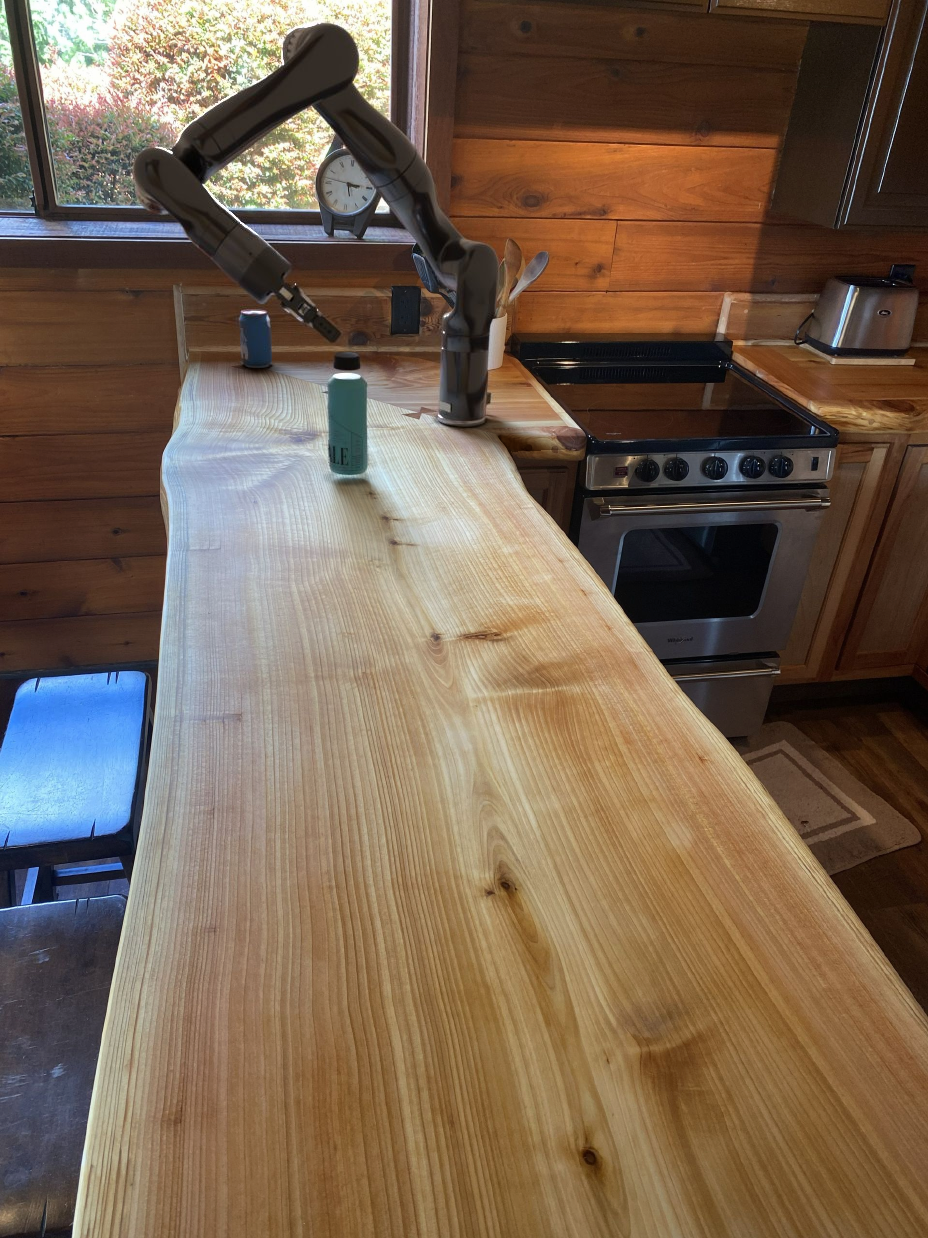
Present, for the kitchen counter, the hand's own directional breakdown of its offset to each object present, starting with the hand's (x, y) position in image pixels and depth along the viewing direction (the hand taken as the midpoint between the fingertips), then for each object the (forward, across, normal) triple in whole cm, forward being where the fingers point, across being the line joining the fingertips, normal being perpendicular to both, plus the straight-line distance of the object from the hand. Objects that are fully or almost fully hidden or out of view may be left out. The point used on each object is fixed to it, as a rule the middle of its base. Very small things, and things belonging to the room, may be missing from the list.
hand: (337, 338), depth 139 cm
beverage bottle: (+15, +2, +16) cm, 22 cm away
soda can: (-11, +76, +18) cm, 79 cm away
